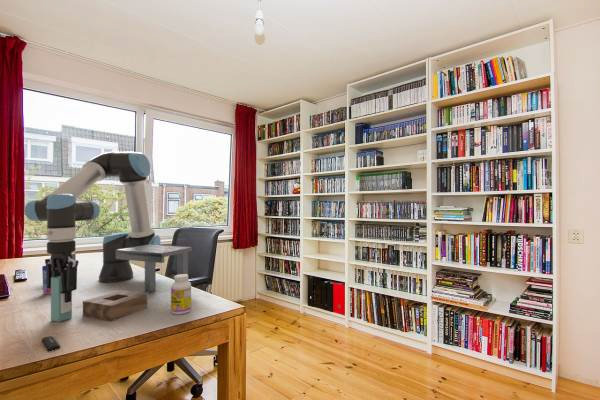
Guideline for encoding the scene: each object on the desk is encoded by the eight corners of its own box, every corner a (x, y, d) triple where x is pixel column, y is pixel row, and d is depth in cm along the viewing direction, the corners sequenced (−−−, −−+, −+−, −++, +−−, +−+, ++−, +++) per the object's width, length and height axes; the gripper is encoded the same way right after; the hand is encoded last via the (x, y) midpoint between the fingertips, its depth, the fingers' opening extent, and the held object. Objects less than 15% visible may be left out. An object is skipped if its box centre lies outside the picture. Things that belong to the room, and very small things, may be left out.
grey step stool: (115, 300, 122) (115, 249, 122) (148, 289, 136) (148, 244, 137) (161, 307, 113) (161, 253, 113) (191, 295, 128) (191, 247, 128)
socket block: (82, 315, 105) (82, 301, 105) (120, 303, 118) (120, 290, 118) (111, 321, 100) (111, 305, 100) (147, 307, 113) (147, 293, 113)
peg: (50, 320, 100) (50, 277, 100) (64, 316, 104) (64, 274, 104) (58, 321, 99) (58, 278, 99) (71, 317, 103) (71, 275, 103)
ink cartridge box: (61, 287, 140) (61, 256, 140) (72, 288, 139) (72, 256, 140) (41, 294, 130) (41, 260, 130) (53, 294, 130) (53, 260, 130)
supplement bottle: (166, 313, 107) (166, 276, 107) (182, 307, 113) (182, 272, 113) (180, 316, 104) (180, 278, 104) (195, 310, 110) (195, 274, 110)
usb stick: (60, 350, 81) (60, 344, 81) (48, 353, 79) (48, 347, 79) (53, 339, 87) (53, 334, 87) (41, 343, 85) (41, 337, 85)
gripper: (32, 240, 101) (32, 311, 101) (66, 243, 95) (65, 318, 95) (57, 238, 108) (57, 304, 108) (90, 240, 102) (90, 310, 102)
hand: (61, 310), depth 101 cm, fingers closed on peg, 4 cm apart
